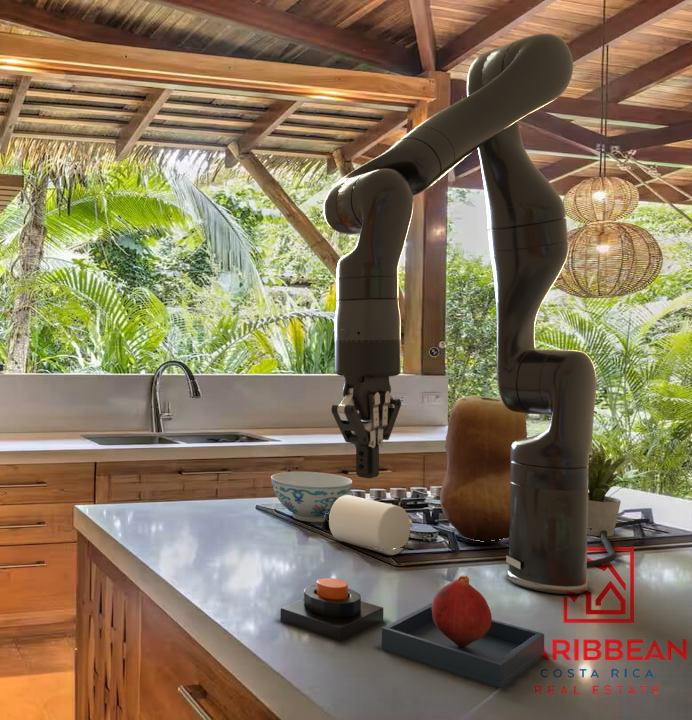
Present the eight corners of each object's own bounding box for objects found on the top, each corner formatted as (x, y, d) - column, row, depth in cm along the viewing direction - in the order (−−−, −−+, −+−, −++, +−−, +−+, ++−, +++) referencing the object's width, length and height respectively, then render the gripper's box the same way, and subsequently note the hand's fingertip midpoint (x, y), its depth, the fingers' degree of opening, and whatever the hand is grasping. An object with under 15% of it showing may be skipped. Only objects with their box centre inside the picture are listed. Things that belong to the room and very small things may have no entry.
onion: (433, 652, 80) (434, 579, 80) (429, 632, 85) (430, 564, 85) (494, 661, 78) (496, 586, 77) (486, 640, 83) (487, 570, 83)
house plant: (672, 547, 122) (674, 450, 122) (580, 543, 124) (582, 447, 124) (623, 526, 136) (624, 438, 136) (541, 522, 138) (542, 437, 138)
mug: (377, 559, 116) (378, 508, 116) (327, 543, 125) (328, 497, 124) (426, 548, 122) (427, 500, 121) (375, 534, 130) (375, 490, 130)
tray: (430, 622, 90) (431, 602, 90) (544, 655, 80) (544, 633, 80) (381, 648, 82) (381, 627, 82) (500, 688, 73) (500, 665, 73)
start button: (326, 589, 93) (326, 575, 93) (353, 597, 90) (353, 583, 90) (310, 595, 90) (311, 581, 90) (337, 604, 88) (338, 589, 88)
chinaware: (275, 525, 137) (275, 484, 136) (266, 507, 151) (267, 470, 151) (360, 529, 134) (360, 487, 134) (342, 510, 149) (343, 472, 149)
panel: (324, 603, 96) (324, 576, 96) (383, 621, 90) (383, 592, 90) (280, 621, 90) (280, 593, 90) (340, 642, 84) (340, 612, 84)
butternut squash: (539, 555, 117) (542, 400, 117) (447, 549, 121) (449, 398, 121) (512, 534, 131) (515, 394, 130) (430, 528, 135) (432, 392, 134)
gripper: (368, 337, 83) (369, 489, 84) (423, 336, 91) (423, 473, 92) (309, 338, 89) (310, 480, 90) (365, 336, 97) (366, 466, 98)
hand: (367, 476), depth 91 cm, fingers closed
